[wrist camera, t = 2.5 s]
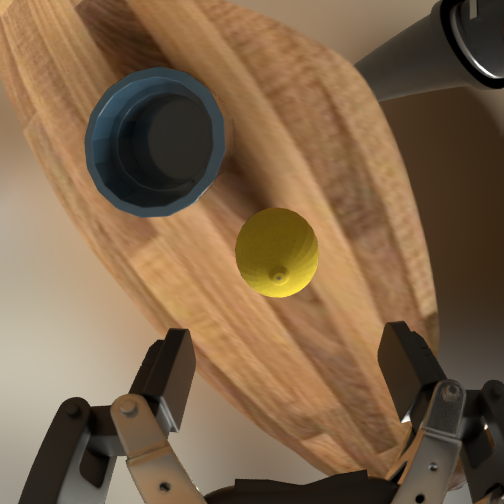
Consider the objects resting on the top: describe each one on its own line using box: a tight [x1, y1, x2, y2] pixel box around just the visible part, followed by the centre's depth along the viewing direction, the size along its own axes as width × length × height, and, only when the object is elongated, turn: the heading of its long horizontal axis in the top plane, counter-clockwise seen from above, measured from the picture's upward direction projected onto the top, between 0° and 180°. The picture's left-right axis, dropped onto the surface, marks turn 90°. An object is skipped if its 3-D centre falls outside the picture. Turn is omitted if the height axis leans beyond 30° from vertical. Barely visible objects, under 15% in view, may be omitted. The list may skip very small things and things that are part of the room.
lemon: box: [235, 208, 319, 297], centre depth 19 cm, size 6×6×8 cm
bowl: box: [84, 67, 234, 218], centre depth 18 cm, size 9×9×6 cm
